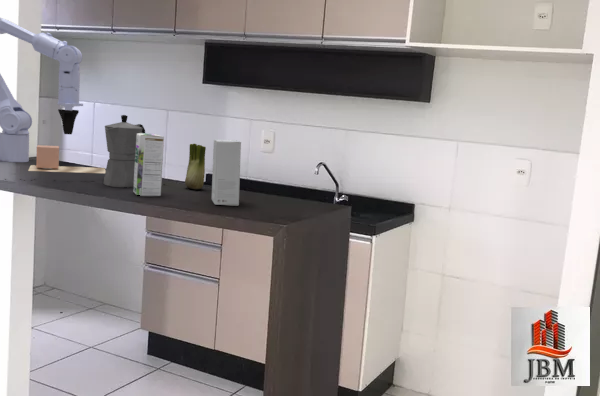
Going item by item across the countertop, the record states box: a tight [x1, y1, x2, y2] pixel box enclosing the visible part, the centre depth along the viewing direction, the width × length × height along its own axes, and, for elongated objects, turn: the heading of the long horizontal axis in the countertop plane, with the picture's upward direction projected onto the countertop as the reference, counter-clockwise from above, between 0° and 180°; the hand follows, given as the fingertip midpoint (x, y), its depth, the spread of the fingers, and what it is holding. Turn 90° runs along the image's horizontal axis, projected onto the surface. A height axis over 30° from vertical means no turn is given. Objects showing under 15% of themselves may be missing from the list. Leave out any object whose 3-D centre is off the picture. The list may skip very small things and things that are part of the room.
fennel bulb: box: [184, 143, 207, 190], centre depth 162 cm, size 6×5×12 cm
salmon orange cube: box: [36, 144, 60, 168], centre depth 171 cm, size 6×6×6 cm
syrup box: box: [132, 132, 165, 197], centre depth 148 cm, size 6×6×14 cm
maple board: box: [27, 164, 106, 175], centre depth 174 cm, size 20×12×1 cm, turn 110°
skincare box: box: [211, 139, 242, 207], centre depth 145 cm, size 8×6×15 cm
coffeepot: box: [102, 114, 146, 189], centre depth 160 cm, size 15×9×18 cm, turn 159°
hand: (67, 134), depth 183 cm, fingers closed
